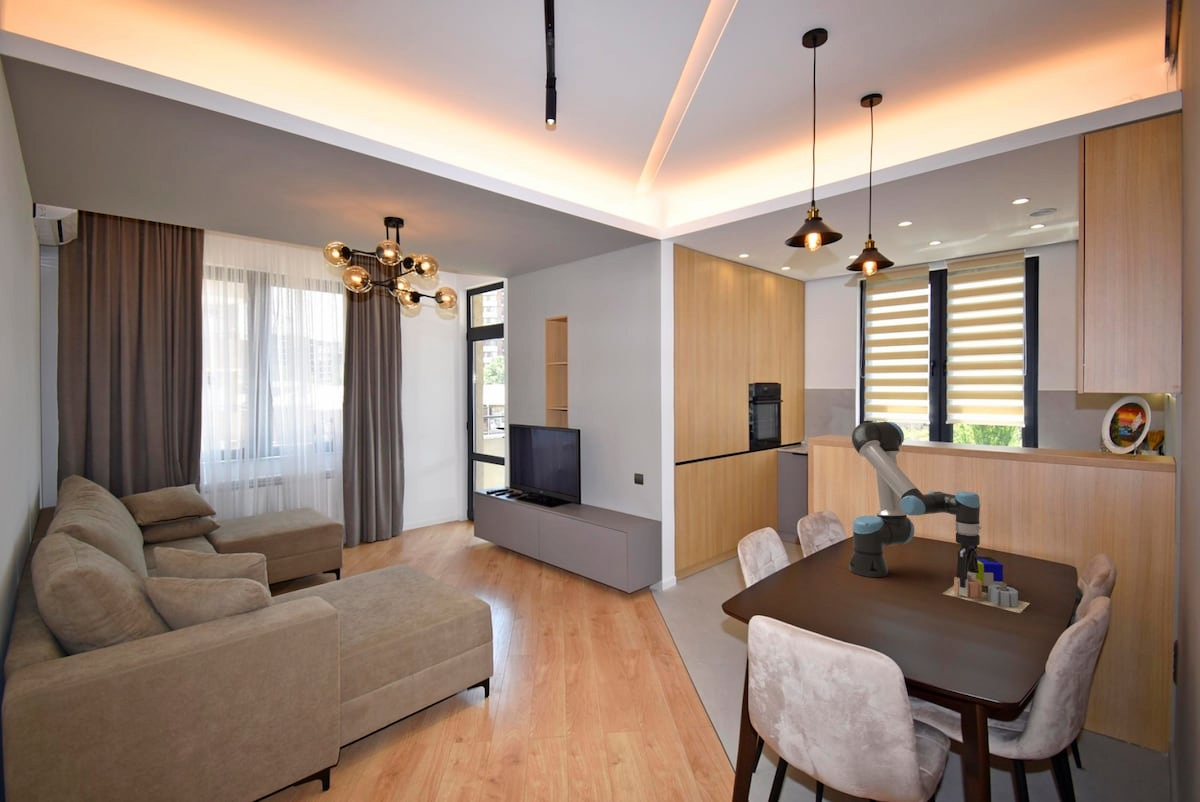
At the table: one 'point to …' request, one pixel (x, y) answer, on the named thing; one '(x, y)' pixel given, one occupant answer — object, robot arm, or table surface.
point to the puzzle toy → (989, 571)
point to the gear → (1003, 596)
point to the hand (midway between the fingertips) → (967, 592)
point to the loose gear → (970, 587)
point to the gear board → (984, 598)
